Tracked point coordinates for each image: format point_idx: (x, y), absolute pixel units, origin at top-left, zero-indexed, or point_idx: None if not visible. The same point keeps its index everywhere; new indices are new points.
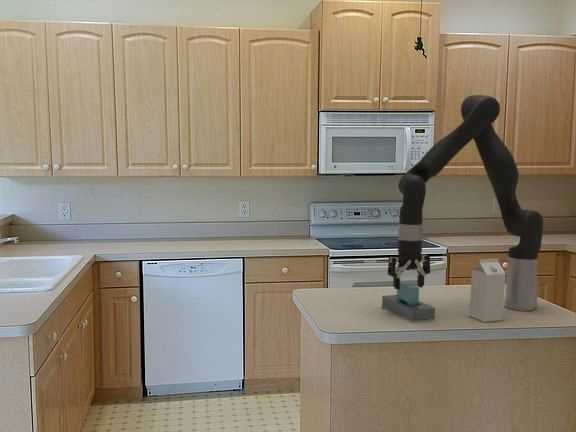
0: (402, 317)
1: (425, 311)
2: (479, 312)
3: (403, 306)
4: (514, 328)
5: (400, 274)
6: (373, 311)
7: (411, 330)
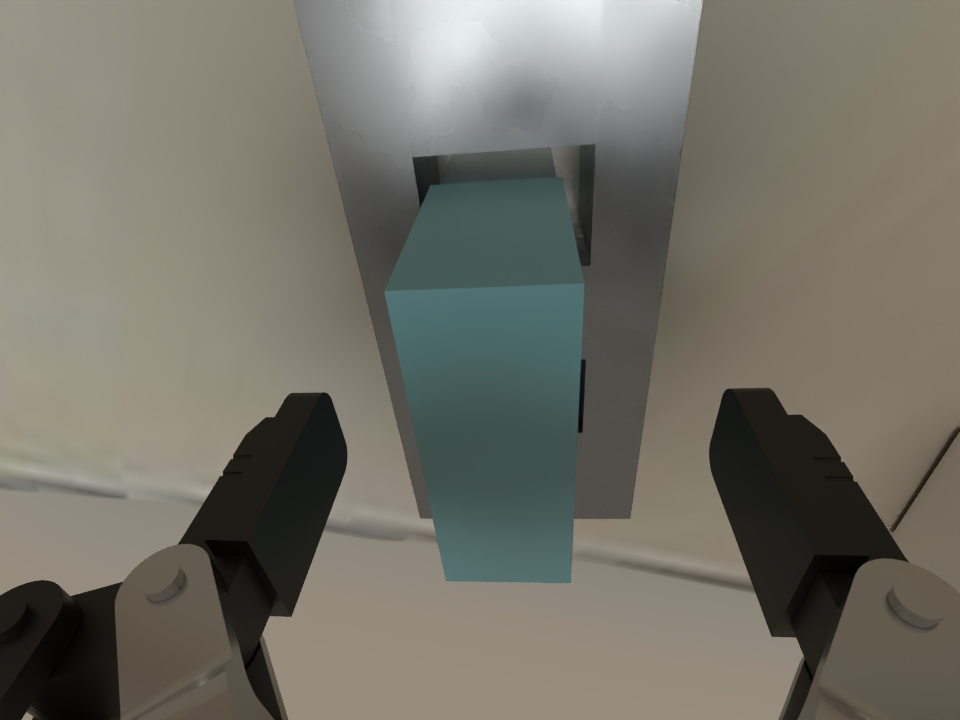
0: None
1: None
2: (943, 552)
3: (397, 415)
4: None
5: (263, 700)
6: (197, 84)
7: (369, 527)
